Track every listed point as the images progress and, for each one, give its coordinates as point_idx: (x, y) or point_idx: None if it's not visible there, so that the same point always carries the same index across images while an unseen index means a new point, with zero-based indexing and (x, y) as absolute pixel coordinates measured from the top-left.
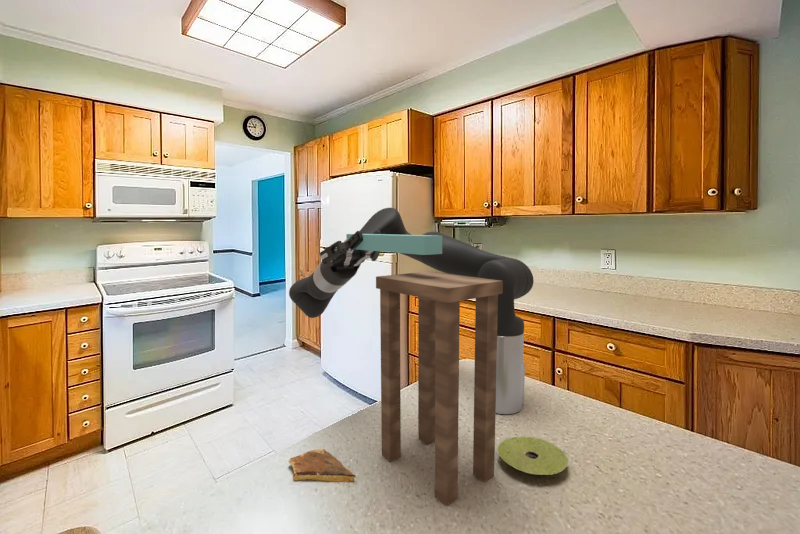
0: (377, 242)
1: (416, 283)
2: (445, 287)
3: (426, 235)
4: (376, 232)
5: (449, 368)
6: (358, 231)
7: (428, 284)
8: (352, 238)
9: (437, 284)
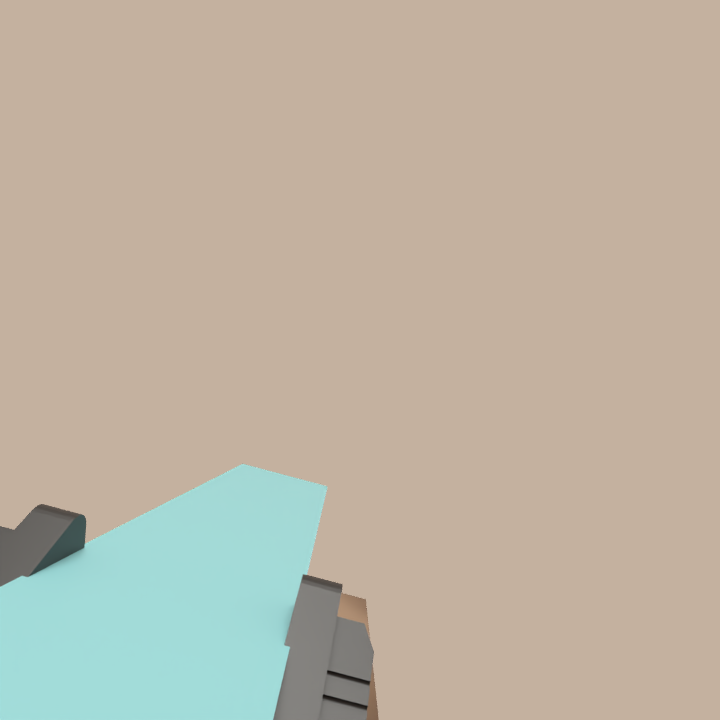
0: None
1: (369, 638)
2: (360, 601)
3: (259, 476)
4: (71, 536)
5: None
6: (336, 585)
7: (359, 621)
8: (356, 708)
9: (340, 611)
